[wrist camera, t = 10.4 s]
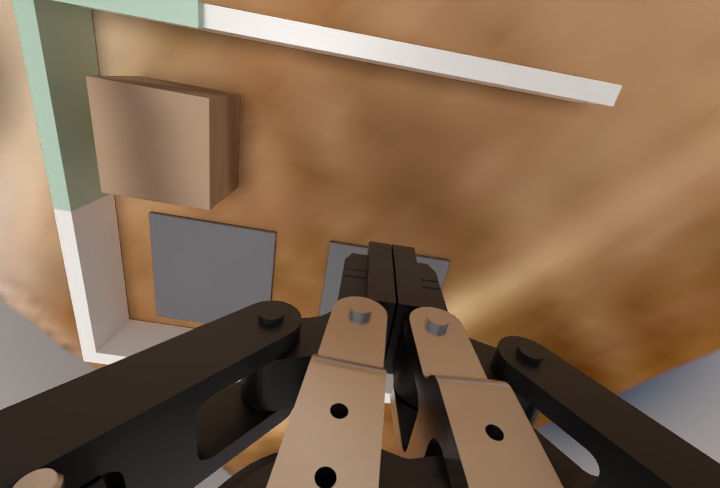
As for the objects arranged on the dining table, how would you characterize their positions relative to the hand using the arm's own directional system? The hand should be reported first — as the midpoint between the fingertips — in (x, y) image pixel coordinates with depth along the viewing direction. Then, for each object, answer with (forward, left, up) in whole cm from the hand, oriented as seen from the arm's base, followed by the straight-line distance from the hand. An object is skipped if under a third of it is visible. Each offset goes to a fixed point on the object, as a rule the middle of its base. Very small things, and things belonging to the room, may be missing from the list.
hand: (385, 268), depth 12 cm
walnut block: (+12, 0, -13) cm, 18 cm away
